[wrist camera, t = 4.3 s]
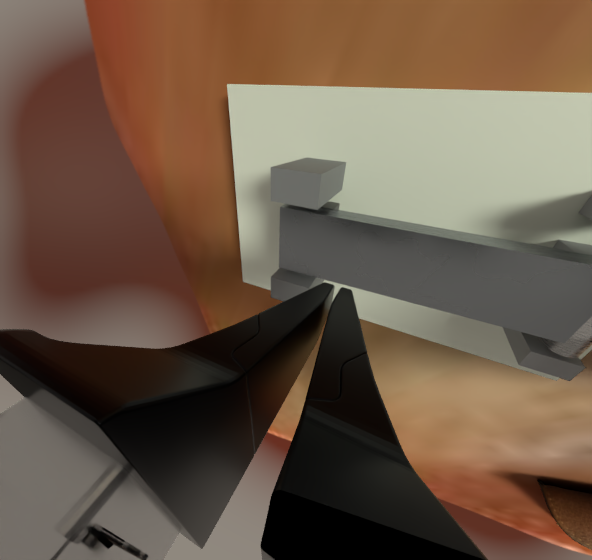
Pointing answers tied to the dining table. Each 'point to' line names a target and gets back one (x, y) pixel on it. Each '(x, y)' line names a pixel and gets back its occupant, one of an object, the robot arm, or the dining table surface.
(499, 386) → the dining table surface
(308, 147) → the base
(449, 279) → the bar
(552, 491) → the sunglasses case
